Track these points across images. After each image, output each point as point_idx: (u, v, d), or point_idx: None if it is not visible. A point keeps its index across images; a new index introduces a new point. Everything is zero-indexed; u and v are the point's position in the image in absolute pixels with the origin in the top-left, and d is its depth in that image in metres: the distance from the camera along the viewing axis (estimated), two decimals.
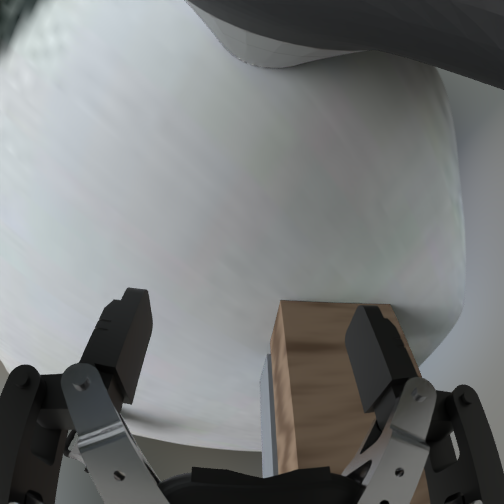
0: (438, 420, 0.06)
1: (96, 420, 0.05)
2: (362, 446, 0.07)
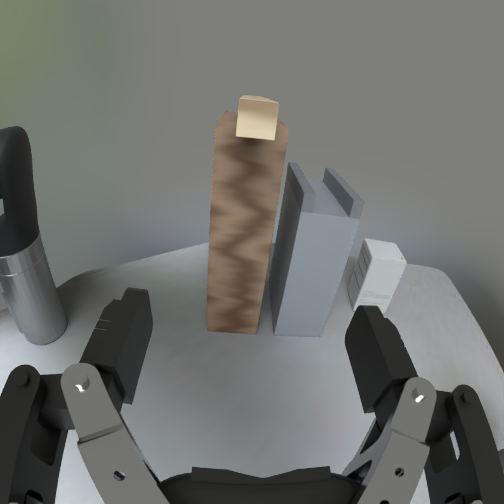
0: (438, 420, 0.06)
1: (96, 420, 0.05)
2: (362, 446, 0.07)
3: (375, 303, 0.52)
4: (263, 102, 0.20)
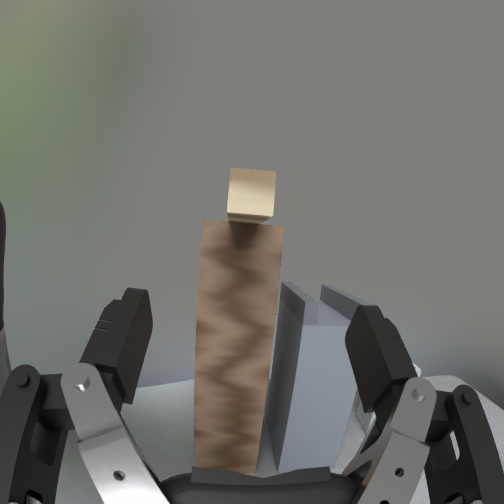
0: (438, 420, 0.06)
1: (96, 420, 0.05)
2: (362, 446, 0.07)
3: None
4: (258, 171, 0.19)
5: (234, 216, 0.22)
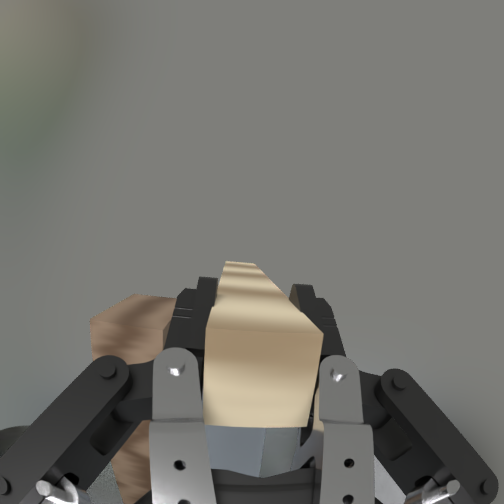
0: (363, 404, 0.07)
1: (178, 406, 0.06)
2: (299, 437, 0.07)
3: None
4: (278, 335, 0.07)
5: None
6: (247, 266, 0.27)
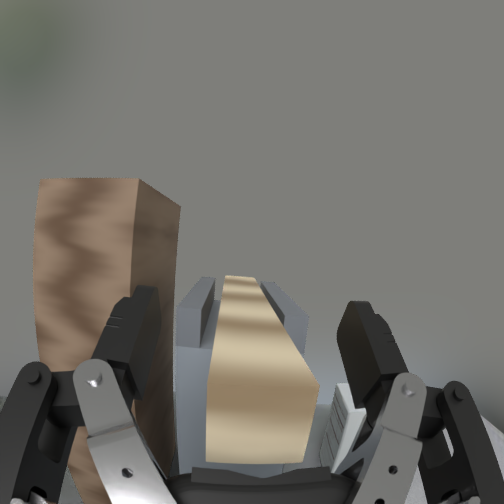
0: (428, 416, 0.06)
1: (107, 416, 0.05)
2: (354, 443, 0.07)
3: None
4: (276, 388, 0.07)
5: None
6: (247, 282, 0.27)
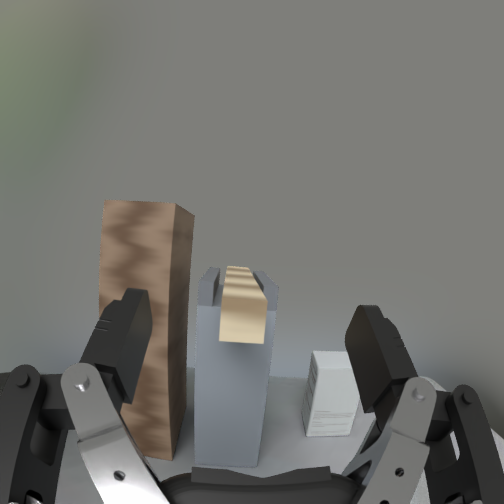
0: (438, 420, 0.06)
1: (96, 420, 0.05)
2: (362, 446, 0.07)
3: (334, 424, 0.37)
4: (249, 301, 0.19)
5: None
6: (242, 270, 0.38)
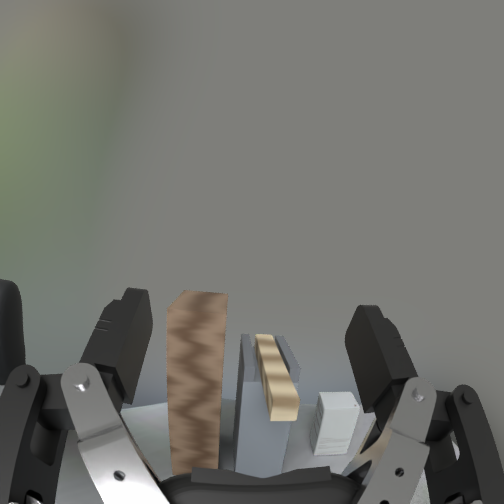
0: (438, 420, 0.06)
1: (96, 420, 0.05)
2: (362, 446, 0.07)
3: (335, 446, 0.47)
4: (289, 400, 0.29)
5: None
6: (269, 342, 0.48)
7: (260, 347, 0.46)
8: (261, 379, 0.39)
